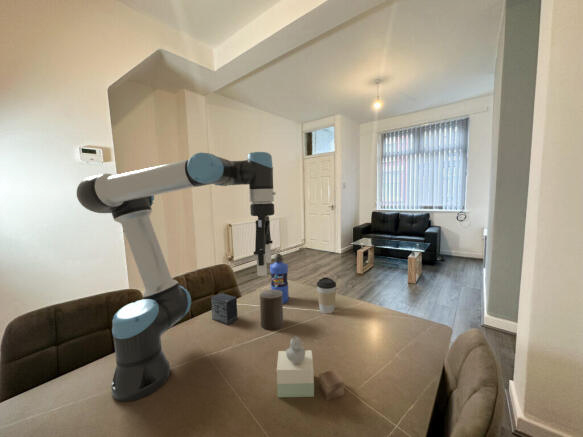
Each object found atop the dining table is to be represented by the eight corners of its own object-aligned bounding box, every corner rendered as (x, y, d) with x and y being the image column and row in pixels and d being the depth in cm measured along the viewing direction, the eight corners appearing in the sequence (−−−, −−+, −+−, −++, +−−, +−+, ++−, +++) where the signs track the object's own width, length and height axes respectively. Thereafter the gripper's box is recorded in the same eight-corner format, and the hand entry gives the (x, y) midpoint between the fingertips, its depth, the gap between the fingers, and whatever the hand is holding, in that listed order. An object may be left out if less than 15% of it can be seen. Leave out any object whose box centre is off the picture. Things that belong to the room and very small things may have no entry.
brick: (327, 400, 65) (327, 386, 64) (319, 386, 69) (319, 373, 69) (343, 395, 66) (343, 381, 66) (335, 382, 71) (334, 369, 70)
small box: (238, 318, 109) (237, 296, 108) (227, 325, 104) (226, 302, 103) (222, 313, 115) (221, 292, 114) (211, 319, 109) (210, 297, 108)
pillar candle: (268, 333, 97) (267, 297, 96) (256, 323, 105) (255, 290, 103) (287, 324, 103) (287, 290, 102) (274, 316, 111) (274, 284, 109)
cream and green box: (277, 397, 66) (276, 370, 65) (279, 375, 74) (278, 351, 73) (314, 396, 66) (313, 369, 65) (312, 374, 74) (311, 350, 73)
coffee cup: (338, 314, 110) (337, 283, 108) (318, 315, 110) (317, 283, 108) (334, 305, 119) (334, 276, 117) (316, 306, 119) (315, 276, 117)
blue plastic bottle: (273, 296, 132) (271, 252, 129) (289, 296, 131) (288, 251, 128) (269, 304, 123) (267, 256, 120) (287, 304, 122) (286, 256, 119)
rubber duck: (289, 369, 65) (288, 341, 64) (283, 354, 71) (282, 328, 71) (308, 365, 67) (307, 338, 66) (301, 350, 73) (300, 325, 72)
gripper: (269, 204, 63) (273, 282, 65) (276, 201, 88) (279, 258, 90) (241, 204, 63) (245, 282, 65) (256, 202, 88) (259, 258, 90)
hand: (265, 268), depth 78 cm, fingers open, 13 cm apart
